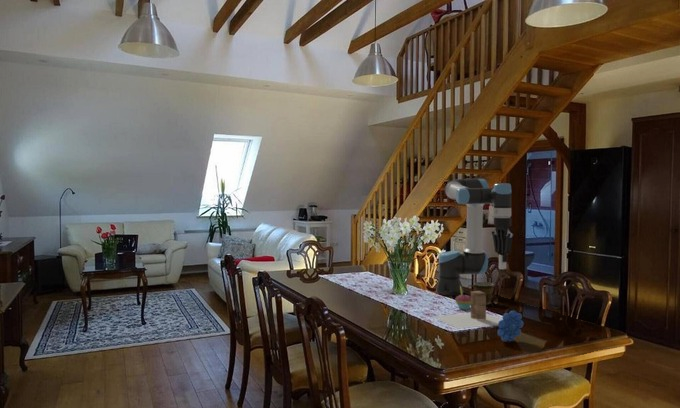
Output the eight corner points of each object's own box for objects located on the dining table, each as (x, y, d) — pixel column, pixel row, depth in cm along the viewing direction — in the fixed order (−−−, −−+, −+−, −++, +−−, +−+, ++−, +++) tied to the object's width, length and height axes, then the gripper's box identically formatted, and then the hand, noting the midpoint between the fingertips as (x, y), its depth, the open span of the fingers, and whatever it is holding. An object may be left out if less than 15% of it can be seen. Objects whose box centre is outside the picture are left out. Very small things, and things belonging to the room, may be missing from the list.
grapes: (515, 336, 192) (515, 306, 191) (527, 341, 185) (527, 310, 185) (490, 339, 188) (490, 309, 188) (502, 344, 182) (501, 313, 181)
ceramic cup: (491, 300, 252) (491, 282, 252) (495, 305, 242) (495, 285, 242) (466, 300, 254) (466, 281, 253) (469, 305, 244) (469, 285, 243)
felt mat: (433, 318, 220) (433, 316, 220) (482, 312, 228) (482, 311, 228) (457, 330, 201) (457, 328, 201) (509, 323, 209) (509, 322, 209)
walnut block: (470, 317, 218) (470, 291, 217) (479, 316, 219) (479, 290, 219) (477, 320, 213) (477, 293, 213) (485, 319, 214) (485, 293, 214)
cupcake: (453, 310, 234) (453, 285, 233) (457, 306, 241) (457, 282, 241) (471, 312, 230) (471, 287, 229) (475, 308, 237) (474, 284, 237)
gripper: (486, 216, 224) (486, 267, 225) (505, 218, 211) (505, 271, 212) (500, 216, 226) (500, 266, 227) (519, 217, 213) (519, 270, 214)
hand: (502, 268), depth 219 cm, fingers closed
